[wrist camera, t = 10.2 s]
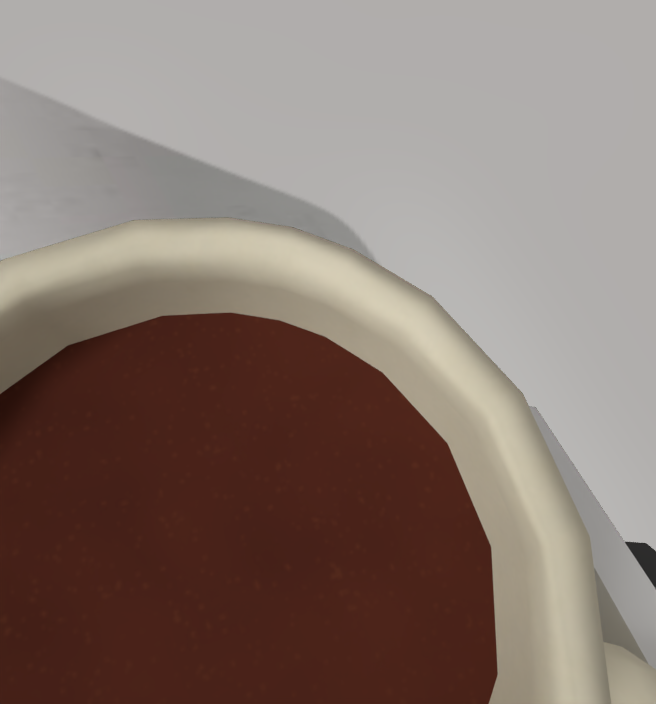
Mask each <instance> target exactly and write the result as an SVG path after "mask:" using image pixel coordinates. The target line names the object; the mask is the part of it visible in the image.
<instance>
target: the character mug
mask: <svg viewBox="0 0 656 704" xmlns="http://www.w3.org/2000/svg"><path fill="white" fill-rule="evenodd" d="M0 704H656V669H655V668H653V667H652V666H650V665H649V664H647V663H646V662H644V661H643V660H641V659H640V658H638V657H637V656H635V655H634V654H632V653H631V652H629V651H628V650H626V649H625V648H623V647H621V646H618V645H614V644H610V643H606V642H603V635H602V627H601V619H600V611H599V604H598V596H597V588H596V580H595V572H594V565H593V557H592V549H591V541H590V536H589V534H588V532H587V529H586V527H585V525H584V523H583V521H582V519H581V517H580V515H579V512H578V510H577V508H576V506H575V504H574V502H573V500H572V497H571V495H570V493H569V491H568V489H567V487H566V485H565V483H564V480H563V478H562V476H561V474H560V472H559V470H558V468H557V466H556V463H555V461H554V459H553V457H552V455H551V453H550V451H549V448H548V446H547V444H546V442H545V440H544V438H543V436H542V434H541V431H540V429H539V427H538V425H537V423H536V421H535V419H534V416H533V414H532V412H531V410H530V408H529V406H528V404H527V402H526V400H525V397H524V395H523V393H522V392H521V391H520V390H519V389H518V388H517V387H516V386H515V385H514V384H513V383H512V381H511V380H510V379H509V378H508V377H507V376H506V375H505V374H504V373H503V372H502V371H501V370H500V369H499V368H498V367H497V365H496V364H495V363H494V362H493V361H492V360H491V359H490V358H489V357H488V356H487V355H486V354H485V353H484V351H483V350H482V349H481V348H480V347H479V346H478V345H477V344H476V343H475V342H474V341H473V340H472V339H471V338H470V336H469V335H468V334H467V333H466V332H465V331H464V330H463V329H462V328H461V327H460V326H459V325H458V324H457V323H456V321H455V320H454V319H453V318H452V317H451V316H450V315H449V314H448V313H447V312H446V311H445V310H444V309H443V307H442V306H441V305H440V304H439V303H438V302H437V301H436V300H435V299H434V298H433V297H432V296H431V295H429V294H427V293H426V292H424V291H422V290H421V289H419V288H417V287H416V286H414V285H412V284H410V283H409V282H407V281H405V280H404V279H402V278H400V277H398V276H397V275H395V274H394V273H392V272H390V271H389V270H387V269H385V268H384V267H382V266H380V265H379V264H377V263H375V262H374V261H372V260H370V259H368V258H367V257H365V256H363V255H362V254H360V253H358V252H357V251H355V250H353V249H351V248H348V247H345V246H342V245H340V244H337V243H334V242H332V241H329V240H326V239H323V238H321V237H318V236H315V235H313V234H310V233H307V232H304V231H302V230H299V229H296V228H294V227H288V226H281V225H275V224H268V223H262V222H255V221H248V220H242V219H235V218H228V217H225V218H189V219H154V220H133V221H129V222H126V223H123V224H119V225H116V226H113V227H110V228H106V229H103V230H100V231H96V232H93V233H90V234H86V235H83V236H80V237H76V238H73V239H70V240H66V241H63V242H60V243H56V244H53V245H50V246H46V247H43V248H40V249H37V250H33V251H30V252H27V253H23V254H20V255H17V256H13V257H10V258H7V259H3V260H1V261H0Z"/></svg>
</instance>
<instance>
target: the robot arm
mask: <svg viewBox="0 0 656 704" xmlns="http://www.w3.org/2000/svg"><path fill="white" fill-rule="evenodd" d="M529 408H530V410H531V412H532V414H533V416H534V419H535V421H536V423H537V425H538V427H539V429H540V431H541V434H542V436H543V438H544V440H545V442H546V444H547V446H548V448H549V451H550V453H551V455H552V457H553V459H554V461H555V463H556V466H557V468H558V470H559V472H560V474H561V476H562V478H563V480H564V483H565V485H566V487H567V489H568V491H569V493H570V495H571V497H572V500H573V502H574V504H575V506H576V508H577V510H578V512H579V515H580V517H581V519H582V521H583V523H584V525H585V527H586V529H587V532H588V534H589V536H590V541H591V549H592V557H593V565H594V572H595V580H596V588H597V596H598V604H599V611H600V619H601V627H602V635H603V642H606V643H610V644H614V645H618V646H621V647H623V648H625V649H626V650H628V651H629V652H631V653H632V654H634V655H635V656H637V657H638V658H640V659H641V660H643V661H644V662H646V663H647V664H649V665H650V666H652V667H653V668H655V669H656V551H655V550H654V549H652V548H651V547H650V546H649V545H648V544H646V543H636V542H635V543H634V542H624V540H623V539H622V537H621V536H620V534H619V533H618V531H617V530H616V528H615V527H614V525H613V524H612V522H611V521H610V519H609V518H608V516H607V514H606V513H605V511H604V510H603V508H602V507H601V505H600V504H599V502H598V501H597V499H596V498H595V496H594V495H593V493H592V492H591V490H590V489H589V487H588V486H587V484H586V483H585V481H584V480H583V479H582V477H581V475H580V474H579V472H578V471H577V469H576V468H575V466H574V464H573V463H572V462H571V460H570V459H569V457H568V455H567V454H566V452H565V451H564V449H563V448H562V446H561V445H560V444H559V442H558V440H557V439H556V437H555V436H554V434H553V433H552V431H551V430H550V428H549V427H548V425H547V424H546V422H545V421H544V419H543V418H542V416H541V414H540V413H539V411H538V410H537V408H536V407H529Z"/></svg>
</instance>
